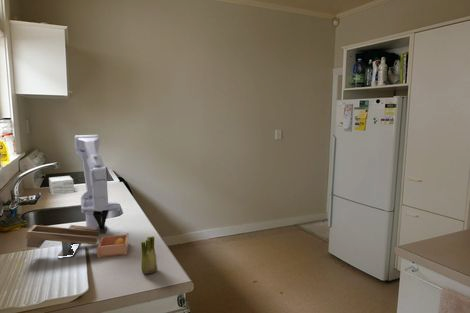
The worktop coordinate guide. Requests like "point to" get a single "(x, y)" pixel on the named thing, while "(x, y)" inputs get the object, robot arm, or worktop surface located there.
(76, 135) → the robot arm
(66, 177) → the white napkin stack
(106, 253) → the open box
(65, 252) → the stand
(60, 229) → the wooden tray
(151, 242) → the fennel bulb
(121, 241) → the ball
